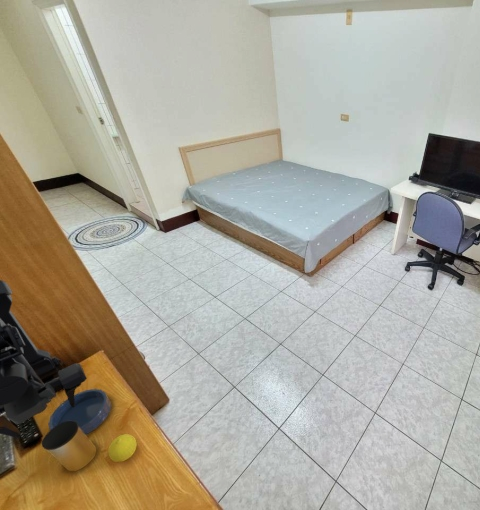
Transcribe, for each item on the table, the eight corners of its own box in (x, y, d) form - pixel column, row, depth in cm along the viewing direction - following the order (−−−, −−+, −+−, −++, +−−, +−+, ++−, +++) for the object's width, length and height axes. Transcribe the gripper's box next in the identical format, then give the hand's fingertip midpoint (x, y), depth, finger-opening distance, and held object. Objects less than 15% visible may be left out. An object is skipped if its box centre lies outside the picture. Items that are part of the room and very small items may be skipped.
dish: (51, 418, 76) (44, 410, 74) (104, 388, 85) (100, 381, 82) (60, 450, 70) (53, 443, 68) (116, 415, 78) (112, 408, 76)
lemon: (127, 469, 68) (117, 455, 64) (109, 463, 68) (97, 449, 64) (145, 446, 72) (136, 431, 68) (128, 440, 73) (118, 426, 69)
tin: (63, 458, 68) (39, 435, 62) (93, 439, 73) (74, 415, 66) (68, 478, 65) (44, 455, 59) (99, 456, 69) (80, 433, 63)
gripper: (-68, 434, 45) (-13, 482, 52) (75, 365, 58) (104, 410, 65) (-60, 398, 52) (-12, 444, 58) (67, 343, 65) (94, 386, 71)
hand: (48, 420), depth 63 cm, fingers open, 9 cm apart
